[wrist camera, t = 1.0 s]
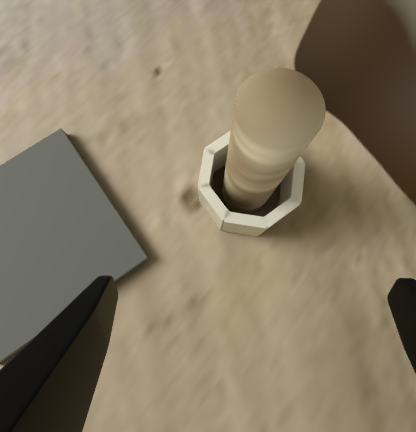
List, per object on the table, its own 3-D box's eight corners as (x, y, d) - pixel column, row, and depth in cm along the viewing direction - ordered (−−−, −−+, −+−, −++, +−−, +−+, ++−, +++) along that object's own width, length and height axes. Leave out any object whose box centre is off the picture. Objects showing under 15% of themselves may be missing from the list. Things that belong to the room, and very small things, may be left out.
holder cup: (306, 200, 24) (325, 186, 20) (236, 251, 23) (241, 247, 20) (253, 135, 26) (260, 110, 22) (184, 181, 25) (180, 164, 21)
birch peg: (277, 196, 24) (344, 116, 12) (240, 222, 24) (272, 166, 12) (249, 161, 25) (286, 52, 13) (213, 186, 25) (216, 97, 12)
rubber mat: (149, 258, 23) (147, 257, 22) (-1, 364, 22) (-11, 369, 21) (66, 133, 26) (60, 128, 25) (-75, 221, 24) (-87, 219, 23)
